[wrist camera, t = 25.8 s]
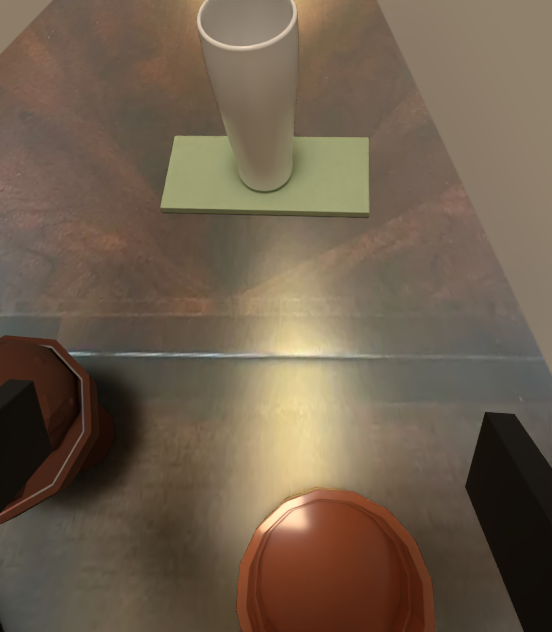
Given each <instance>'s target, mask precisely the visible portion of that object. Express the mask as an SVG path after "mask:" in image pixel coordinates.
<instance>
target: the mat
mask: <svg viewBox="0 0 552 632" xmlns="http://www.w3.org/2000/svg"><path fill="white" fill-rule="evenodd" d="M160 208H161V210H162V212H168V213H210V214H251V215H293V216H334V217H368V216H369V138H365V137H294V141H293V169H292V173H291V176H290V178H289V179H288V181H287V182H286V183H285V184H284V185H282V186H281V187H279V188H277V189H275V190H271V191H257V190H254V189H251V188H250V187H248V186H247V185H246V184H244V182H243V181H242V180H241V178H240V176H239V173H238V169H237V164H236V160H235V157H234V154H233V151H232V148H231V145H230V142H229V139H228V136H175V138H174V143H173V148H172V153H171V158H170V163H169V168H168V173H167V178H166V183H165V187H164V192H163V197H162V202H161V207H160Z"/></svg>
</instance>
